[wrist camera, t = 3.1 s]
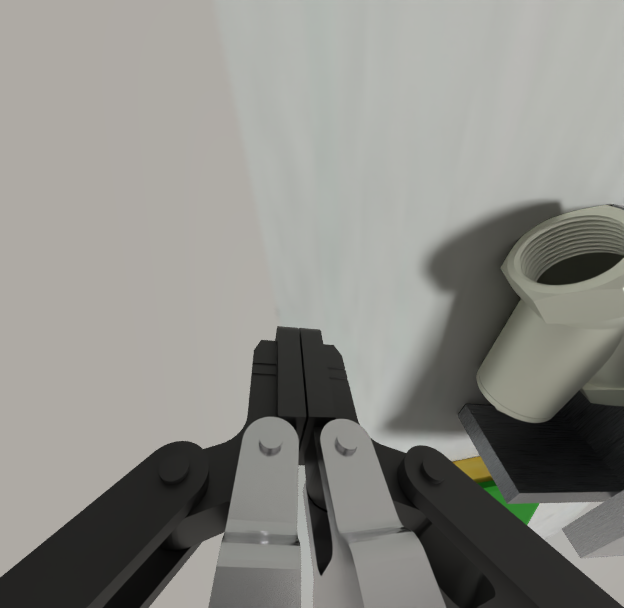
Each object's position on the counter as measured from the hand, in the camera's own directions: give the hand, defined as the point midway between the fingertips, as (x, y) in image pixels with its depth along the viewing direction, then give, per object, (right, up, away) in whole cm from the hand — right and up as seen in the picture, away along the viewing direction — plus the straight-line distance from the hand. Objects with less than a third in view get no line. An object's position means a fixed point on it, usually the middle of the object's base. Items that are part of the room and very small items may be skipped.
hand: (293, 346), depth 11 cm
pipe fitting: (+10, +1, +3) cm, 10 cm away
